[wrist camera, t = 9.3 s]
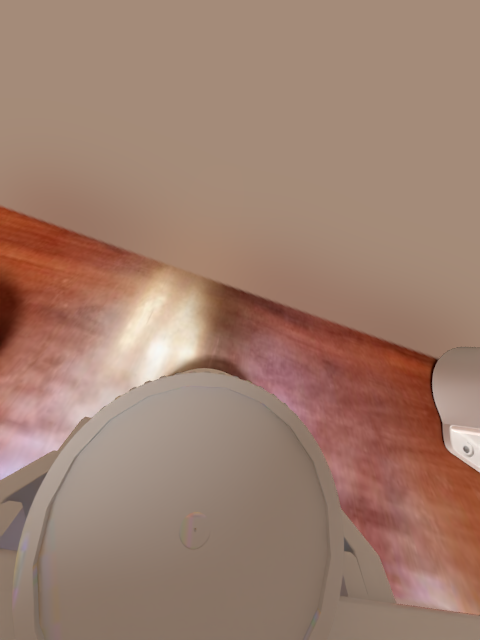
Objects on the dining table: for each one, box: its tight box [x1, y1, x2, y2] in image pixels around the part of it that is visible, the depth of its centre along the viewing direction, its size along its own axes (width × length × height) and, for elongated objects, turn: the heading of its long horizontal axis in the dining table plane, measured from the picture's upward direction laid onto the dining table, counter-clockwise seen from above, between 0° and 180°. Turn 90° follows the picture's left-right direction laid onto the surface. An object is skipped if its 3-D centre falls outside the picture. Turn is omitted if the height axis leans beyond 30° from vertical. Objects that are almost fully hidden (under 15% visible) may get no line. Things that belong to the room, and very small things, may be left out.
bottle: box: [12, 371, 344, 640], centre depth 12 cm, size 7×7×15 cm
